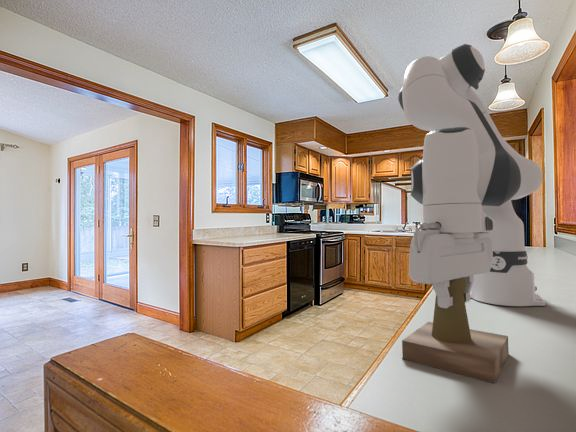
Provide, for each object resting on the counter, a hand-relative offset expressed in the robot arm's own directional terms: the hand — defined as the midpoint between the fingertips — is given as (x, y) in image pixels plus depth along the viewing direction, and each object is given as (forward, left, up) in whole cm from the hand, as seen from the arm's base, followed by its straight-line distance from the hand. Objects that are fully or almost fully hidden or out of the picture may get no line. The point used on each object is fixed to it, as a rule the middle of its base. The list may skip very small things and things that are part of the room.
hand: (454, 304), depth 54 cm
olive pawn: (0, -1, -6) cm, 6 cm away
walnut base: (0, 0, -9) cm, 9 cm away
